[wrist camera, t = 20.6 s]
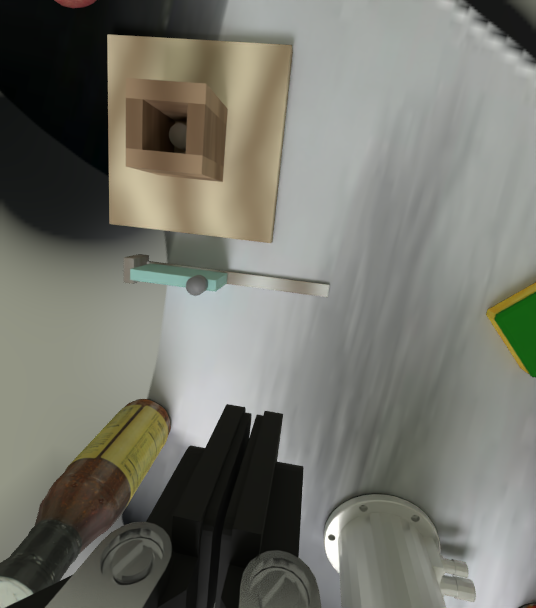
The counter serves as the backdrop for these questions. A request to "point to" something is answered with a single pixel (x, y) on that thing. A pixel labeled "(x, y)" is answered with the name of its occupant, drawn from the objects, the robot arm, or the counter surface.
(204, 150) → the block
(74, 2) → the fruit
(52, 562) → the sauce bottle
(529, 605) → the deodorant
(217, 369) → the counter surface
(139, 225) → the seat
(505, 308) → the dish sponge
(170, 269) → the bar
